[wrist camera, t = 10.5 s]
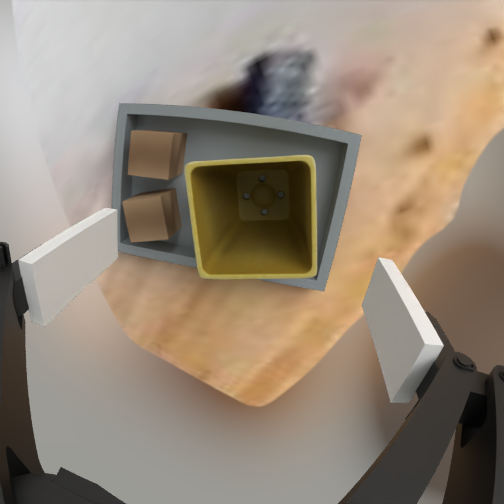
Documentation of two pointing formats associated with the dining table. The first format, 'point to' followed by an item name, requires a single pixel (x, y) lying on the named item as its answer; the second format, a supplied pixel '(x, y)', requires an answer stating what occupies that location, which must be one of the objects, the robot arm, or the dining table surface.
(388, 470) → the robot arm
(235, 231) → the flower pot
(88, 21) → the dining table surface
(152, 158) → the walnut block
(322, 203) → the tray
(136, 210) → the walnut block
